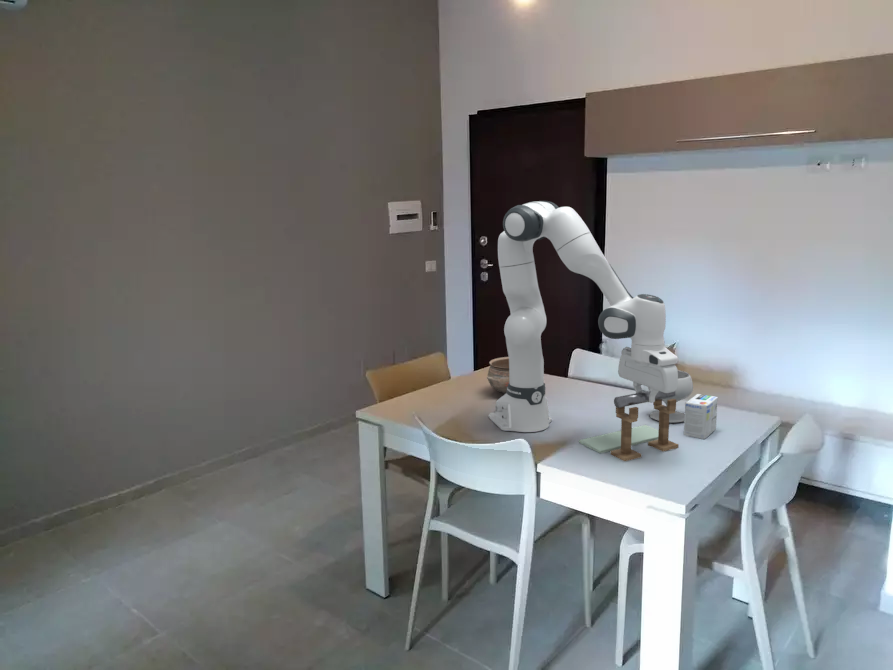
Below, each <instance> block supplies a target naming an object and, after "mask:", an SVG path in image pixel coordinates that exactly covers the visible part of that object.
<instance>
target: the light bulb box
mask: <svg viewBox="0 0 893 670" xmlns="http://www.w3.org/2000/svg"><path fill="white" fill-rule="evenodd" d="M718 398H719V397H718V396H713V395H706V394H701V393H696V394H695V395H694V396H692V397H691V398H690V399H689V400H687V401H685V402H684V414H685V420H684V422H683V423H684V425H683V426H684V427H683V436H686V437H690V438H691V437H692V438H696V439H700V440H701V439H702V440H706V439H707V438H708V436H710V435H711V434H712V433H713V432H715V431H716V430H717V416H718V401H719V400H718Z"/></svg>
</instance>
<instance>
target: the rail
mask: <svg viewBox="0 0 893 670" xmlns="http://www.w3.org/2000/svg"><path fill="white" fill-rule="evenodd" d="M650 393H651V391H649V390H647V391H643V392H641V393H636V392H635V393H631V394H624V395H621V396H616V397H614V399H613V404H614V406H615V408H616V407H617V408H620V407H625V408H626V407H629V406H635V405H639V404H640V405H641V404H646V403H649V402H648V401H647V396H648V395H650ZM674 396H675V391H674V392H671V393H664V392H661V391H658V393H657V395H656V396H655V401H656V400H661V399H666V398H671V397H674Z"/></svg>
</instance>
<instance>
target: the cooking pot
mask: <svg viewBox="0 0 893 670" xmlns="http://www.w3.org/2000/svg"><path fill="white" fill-rule="evenodd" d="M488 364H489V367H488V371H487V377H486V380H487V381H488V383H489V385H490V386H491V387H492V388H493V389H494V390H496V391H498V392H500V393H502V394H503V395H505V394H506V391H507V387H508V386H506V385H508V384H506V383H509V356H504V357H503V356H502V357H497V358H494V359H491V360H490V361H489V362H488Z"/></svg>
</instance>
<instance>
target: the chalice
mask: <svg viewBox="0 0 893 670" xmlns="http://www.w3.org/2000/svg"><path fill="white" fill-rule="evenodd" d="M677 370H678V383H677V389H676V390H675V396H674V397H671V398H666V399H662V403H664V405H665V406H667V400H670V399H676V403H677V402H680V401H682V400H684V399H687V398H688V397H690V396H691V394H692V393H693V391H694V385H693V384H694V383H693V379H692V376H691V374H689V373H688V372H687V371H685V370H679V369H677ZM647 388H648V391H650V387H647ZM649 416H650V418H651V419H653V420H655V421H658V422H659V410H655V411H653V412H651V413H650V415H649ZM684 420H685V412H680V411H678V410H675V413H672V414H669V424H670V423H672V424H673V423H677V424H679V423H682V422H683V423H684Z"/></svg>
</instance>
